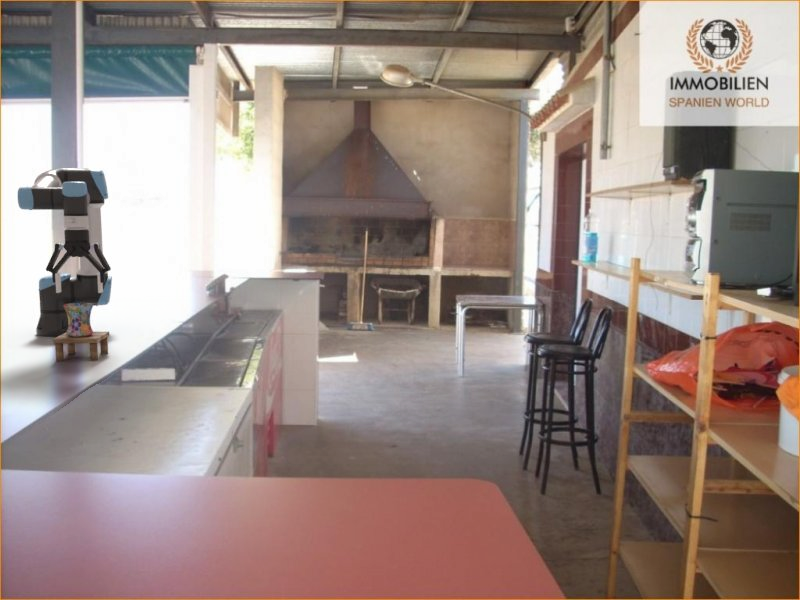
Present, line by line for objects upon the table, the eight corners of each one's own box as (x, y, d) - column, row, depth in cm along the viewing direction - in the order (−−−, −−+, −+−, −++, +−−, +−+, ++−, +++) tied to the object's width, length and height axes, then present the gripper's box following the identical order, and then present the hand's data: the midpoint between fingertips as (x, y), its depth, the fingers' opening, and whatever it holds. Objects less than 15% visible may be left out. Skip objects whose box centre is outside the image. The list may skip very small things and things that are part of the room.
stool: (68, 352, 264) (67, 331, 263) (110, 352, 265) (109, 331, 264) (53, 361, 250) (52, 339, 250) (97, 360, 252) (96, 338, 251)
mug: (95, 337, 254) (94, 305, 252) (65, 339, 250) (63, 307, 248) (93, 331, 264) (92, 301, 263) (64, 333, 260) (62, 302, 259)
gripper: (33, 229, 248) (36, 293, 251) (111, 229, 250) (114, 294, 253) (42, 227, 255) (45, 290, 258) (118, 228, 257) (121, 290, 260)
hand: (79, 292), depth 255 cm, fingers open, 13 cm apart
